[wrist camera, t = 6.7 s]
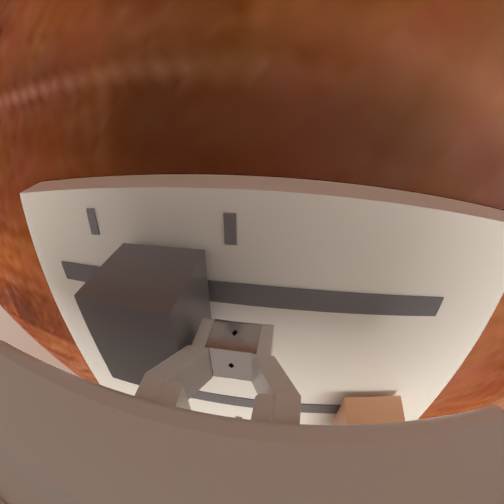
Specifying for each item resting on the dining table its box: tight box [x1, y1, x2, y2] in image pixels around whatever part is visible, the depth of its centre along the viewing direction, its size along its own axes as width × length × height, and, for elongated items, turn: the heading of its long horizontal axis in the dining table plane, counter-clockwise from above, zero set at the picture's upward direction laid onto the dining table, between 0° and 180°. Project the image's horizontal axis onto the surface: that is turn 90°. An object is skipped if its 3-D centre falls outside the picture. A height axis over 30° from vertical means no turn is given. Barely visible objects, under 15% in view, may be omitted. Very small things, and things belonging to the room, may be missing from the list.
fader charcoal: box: [74, 243, 211, 398], centre depth 12 cm, size 4×5×4 cm
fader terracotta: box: [331, 396, 405, 425], centre depth 15 cm, size 4×5×4 cm
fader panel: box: [20, 174, 504, 425], centre depth 17 cm, size 28×20×2 cm
